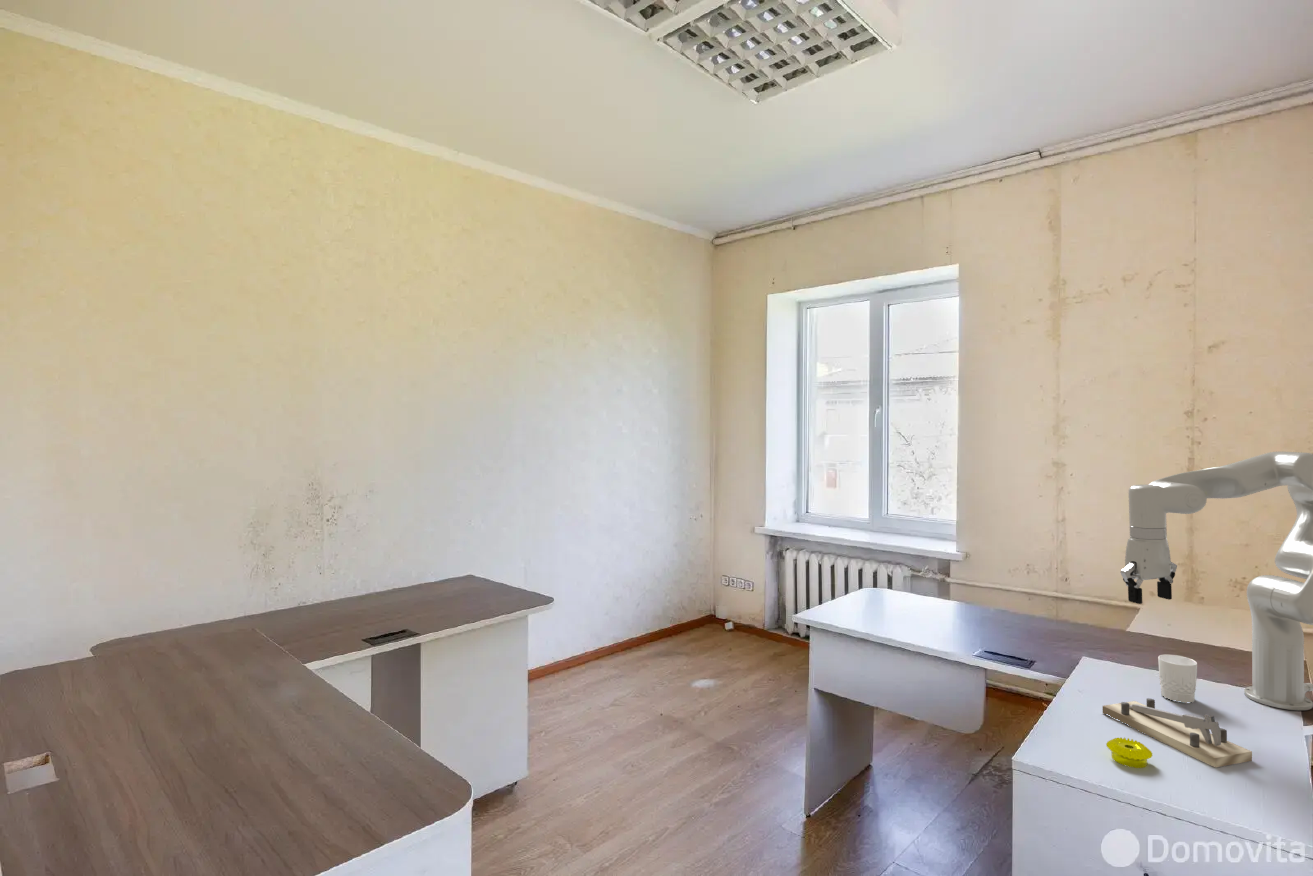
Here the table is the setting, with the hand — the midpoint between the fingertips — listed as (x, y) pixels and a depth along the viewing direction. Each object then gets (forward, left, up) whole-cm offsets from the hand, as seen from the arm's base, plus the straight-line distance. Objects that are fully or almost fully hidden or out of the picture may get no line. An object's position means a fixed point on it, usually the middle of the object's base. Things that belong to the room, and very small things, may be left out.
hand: (1150, 600), depth 165 cm
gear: (+31, +21, -27) cm, 46 cm away
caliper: (+12, +15, -24) cm, 31 cm away
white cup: (-9, 0, -27) cm, 28 cm away
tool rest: (+12, +15, -26) cm, 32 cm away
